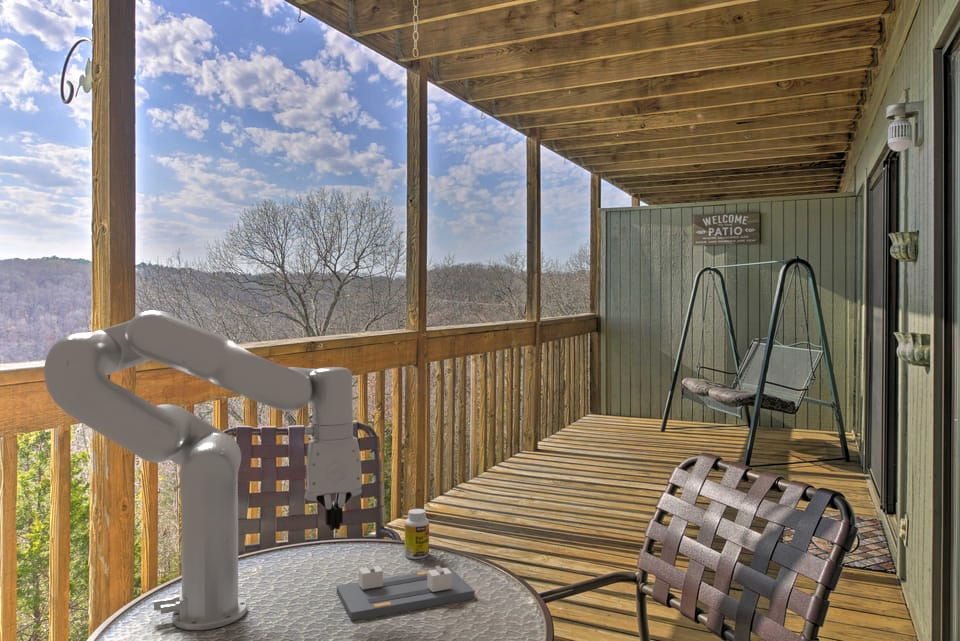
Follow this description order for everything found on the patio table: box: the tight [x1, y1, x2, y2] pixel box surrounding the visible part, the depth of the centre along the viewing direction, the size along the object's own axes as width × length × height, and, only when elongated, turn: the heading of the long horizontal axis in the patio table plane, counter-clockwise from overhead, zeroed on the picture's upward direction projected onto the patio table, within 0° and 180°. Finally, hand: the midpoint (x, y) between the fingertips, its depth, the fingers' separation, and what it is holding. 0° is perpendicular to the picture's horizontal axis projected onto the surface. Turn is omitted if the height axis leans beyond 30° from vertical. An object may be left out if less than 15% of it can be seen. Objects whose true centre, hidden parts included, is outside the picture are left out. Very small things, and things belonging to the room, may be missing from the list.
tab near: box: [427, 565, 452, 592], centre depth 127 cm, size 4×3×4 cm
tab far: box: [358, 563, 384, 590], centre depth 128 cm, size 4×3×4 cm
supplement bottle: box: [404, 508, 430, 560], centre depth 150 cm, size 6×6×10 cm
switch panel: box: [336, 567, 476, 622], centre depth 128 cm, size 24×13×2 cm, turn 114°
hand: (334, 527), depth 126 cm, fingers closed
